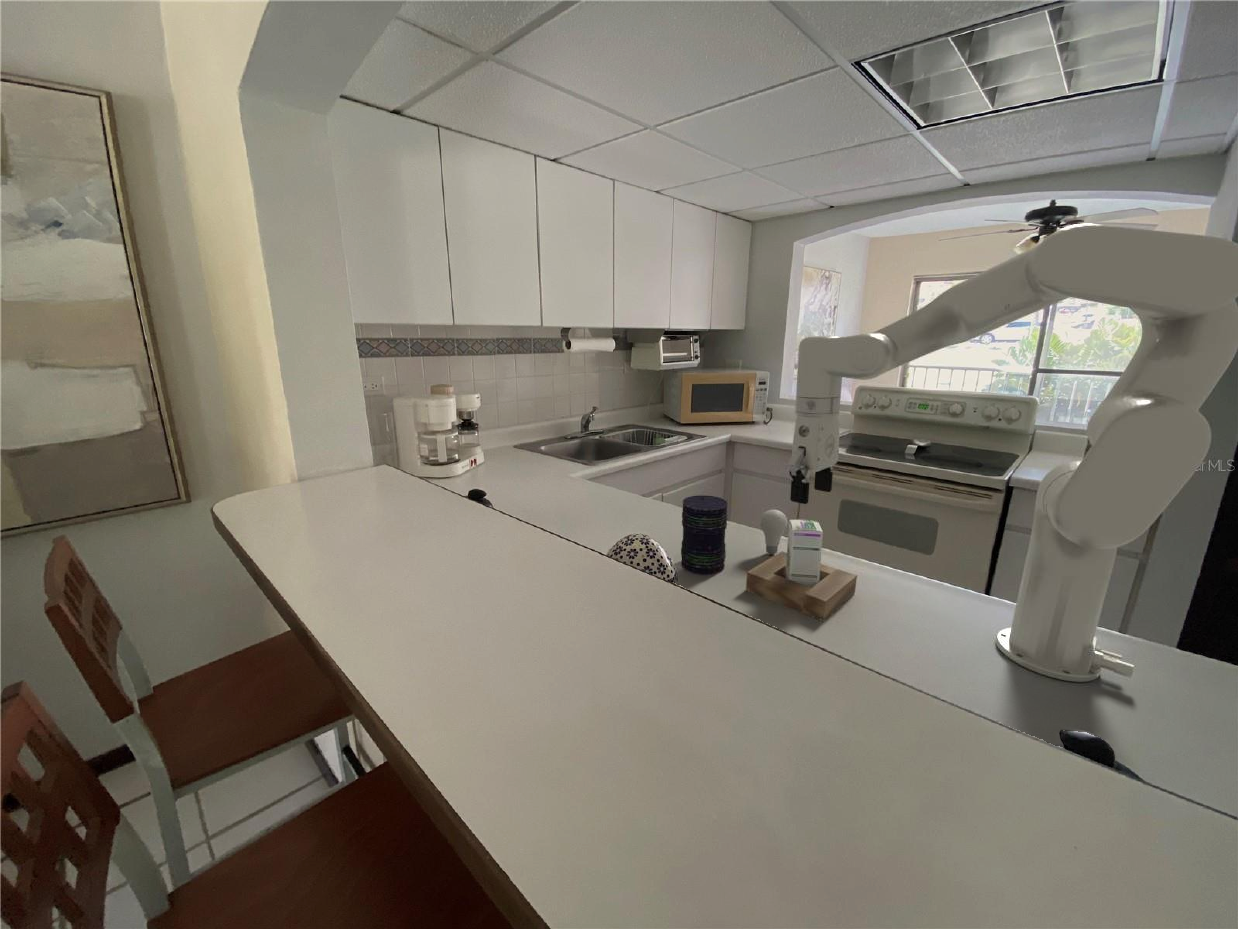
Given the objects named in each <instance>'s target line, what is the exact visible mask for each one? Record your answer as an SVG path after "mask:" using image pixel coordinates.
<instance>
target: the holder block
mask: <svg viewBox="0 0 1238 929" xmlns="http://www.w3.org/2000/svg"><path fill="white" fill-rule="evenodd" d="M786 561H787V551H786V552H785V551H780V552H777V553H776V554H774V555H772V556H771V557H770V558H768V559H767V560H765V561H763V562H762V563H759V564H758V565H757V566H755V567H753V568H752V569H750V570H748V571H747V572H746V582H745V583H746V584H745V585H746V586H745V590H746V591H747V592H749V593H752V594H755V595H757V596H760V597H762V598H764V599H767V600H769V601H771V602H775V603H777V604H779V605H782V606H784V607H787V608H789V609H791V610H795V611H797V612H800V613H802V614H804V613H805V615H807V614H808V615H807V616H809V615H810V617H812V616H814V617H815V619H817V618H818V619H817V620H819V619H821V620H820V621H822V620H825V619H826V620H827V619H829V617H831V616H832V615H833V614H834V613H835V612H836V611H837V610H838V609H840V608H841V607H842V606H843V605H844V604H845V603H846V602H848V601H849V600H850V599H851V598H852V597H853V596H854V595H855V594H856V588H857V587H856V585H857V578H858V575H857V574H854V573H851V572H848V571H845V570H841V569H839V568H835V567H832V566H829V565H825V564H823V563H821V565H820V577H819V583H817V584H816V585H815V586H813V587H812V588H811V587H809V586H806V585H803V584H800V583H797V582H795V581H792V580H789V579H786V578H785V576H786ZM854 593H855V594H854ZM853 594H854V595H853ZM852 595H853V596H852ZM851 596H852V597H851ZM850 597H851V598H850ZM844 602H845V603H844ZM843 603H844V604H843ZM841 605H842V606H841ZM832 613H833V614H832ZM831 614H832V615H831ZM814 617H813V618H814ZM826 620H825V621H826Z"/></svg>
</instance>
